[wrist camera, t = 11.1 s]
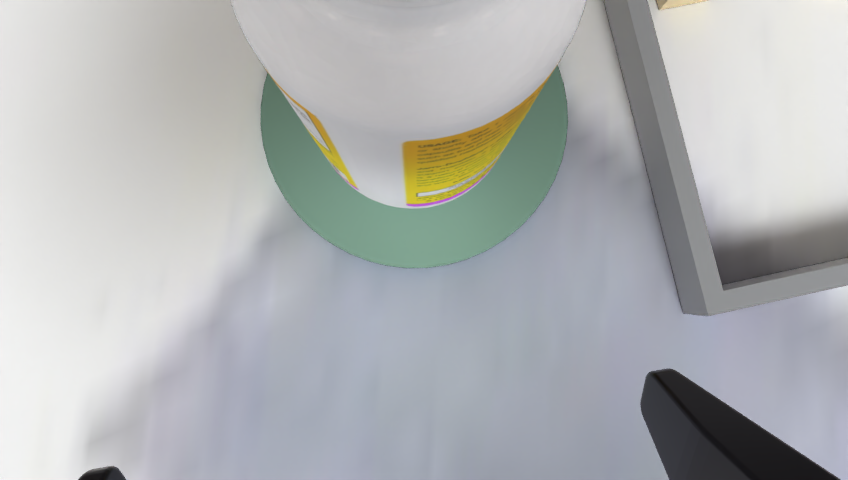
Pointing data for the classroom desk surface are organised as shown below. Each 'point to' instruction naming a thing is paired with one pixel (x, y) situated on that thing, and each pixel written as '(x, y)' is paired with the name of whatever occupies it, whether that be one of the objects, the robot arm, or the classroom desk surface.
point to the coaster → (419, 227)
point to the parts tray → (689, 180)
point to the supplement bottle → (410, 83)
